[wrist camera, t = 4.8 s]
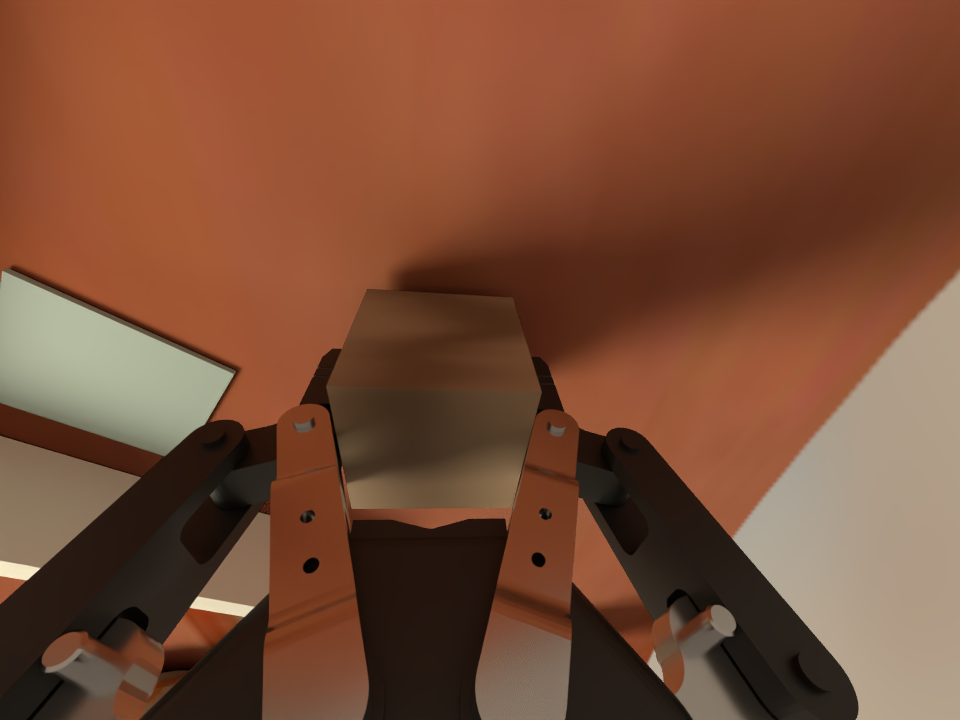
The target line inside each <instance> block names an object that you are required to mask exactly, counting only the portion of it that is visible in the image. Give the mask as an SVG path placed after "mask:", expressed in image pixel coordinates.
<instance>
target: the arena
mask: <svg viewBox="0 0 960 720" xmlns="http://www.w3.org/2000/svg"><path fill="white" fill-rule="evenodd" d="M235 373H236V371H235V370H233V369H231V368H228V367H226V366H224V365H222V364H220V363H217V362H215V361H213V360H211V359H208V358H206V357H204V356H202V355H200V354H197V353H195V352H193V351H191V350H189V349H186V348H184V347H182V346H180V345H177V344H175V343H173V342H171V341H169V340H166V339H164V338H162V337H160V336H157V335H155V334H153V333H151V332H149V331H146V330H144V329H142V328H140V327H137V326H135V325H133V324H131V323H129V322H126V321H124V320H122V319H120V318H118V317H115V316H113V315H111V314H109V313H106V312H104V311H102V310H100V309H98V308H95V307H93V306H91V305H89V304H86V303H84V302H82V301H80V300H78V299H75V298H73V297H71V296H69V295H66V294H64V293H62V292H60V291H58V290H55V289H53V288H51V287H49V286H46V285H44V284H42V283H40V282H38V281H35V280H33V279H31V278H29V277H27V276H24V275H22V274H20V273H18V272H15V271H13V270H11V269H9V268H8V269H5V270H3V271H2V277H1V286H0V403H2V404H5V405H8V406H11V407H14V408H17V409H20V410H23V411H26V412H30V413H33V414H36V415H39V416H42V417H45V418H48V419H51V420H54V421H57V422H60V423H63V424H67V425H70V426H73V427H76V428H79V429H82V430H85V431H88V432H91V433H94V434H97V435H100V436H103V437H107V438H110V439H113V440H116V441H119V442H122V443H125V444H128V445H131V446H134V447H137V448H140V449H143V450H147V451H150V452H153V453H156V454H159V455H162V456H166V455H167V454H168V453H169V452H170V451H171V450H172V449H174V448H175V447H176V446H177V445H178V444H179V443H180V442H181V441H182V440H184V439H185V438H186V437H187V436H188V435H189V434H190V433H192V432H193V431H194V430H196V429H197V428H199V427H201V426H203V425H205V424H206V422H207V420H208V419H209V417H210V415H211V413H212V412H213V410H214V408H215V407H216V405H217V403H218V402H219V400H220V398H221V396H222V395H223V393H224V391H225V390H226V388H227V386H228V385H229V383H230V381H231V379H232V378H233V376H234V374H235ZM140 478H141V477H138V476H135V475H131V474H128V473H125V472H121V471H118V470H114V469H111V468H108V467H104V466H101V465H97V464H94V463H91V462H87V461H84V460H80V459H77V458H74V457H70V456H67V455H64V454H60V453H57V452H53V451H50V450H47V449H43V448H40V447H36V446H33V445H30V444H26V443H23V442H19V441H16V440H13V439H9V438H6V437H2V436H0V576H5V577H11V578H17V579H23V580H28V579H29V578H30V577H31V576H33V575H34V574H35V573H36V572H37V571H38V570H39V569H40V568H41V567H42V566H44V565H45V564H46V563H47V562H48V561H49V560H50V559H51V558H52V557H54V556H55V555H56V554H57V553H58V552H59V551H60V550H61V549H62V548H64V547H65V546H66V545H67V544H68V543H69V542H70V541H71V540H72V539H74V538H75V537H76V536H77V535H78V534H79V533H80V532H81V531H82V530H84V529H85V528H86V527H87V526H88V525H89V524H90V523H91V522H92V521H94V520H95V519H96V518H97V517H98V516H99V515H100V514H101V513H102V512H104V511H105V510H106V509H107V508H108V507H109V506H110V505H111V504H112V503H114V502H115V501H116V500H117V499H118V498H119V497H120V496H121V495H122V494H124V493H125V492H126V491H127V490H128V489H129V488H130V487H131V486H132V485H134V484H135V483H136V482H137V481H138V480H139V479H140ZM269 575H270V515H267V514H264V513H260V512H259V513H258V514H257V515H256V517H255V518H254V520H253V521H252V522H251V524H250V525H249V526H248V528H247V529H246V531H245V532H244V533H243V535H242V536H241V537H240V539H239V540H238V542H237V543H236V544H235V546H234V547H233V548H232V550H231V551H230V553H229V554H228V555H227V557H226V558H225V559H224V561H223V562H222V564H221V565H220V566H219V568H218V569H217V570H216V572H215V573H214V575H213V576H212V577H211V579H210V580H209V581H208V583H207V584H206V586H205V587H204V588H203V590H202V591H201V592H200V594H199V595H198V597H197V598H196V599H195V601H194V602H193V603H192V605H191V606H190V608H196V609H202V610H208V611H213V612H219V613H225V614H231V615H237V616H243V617H245V616H246V615H247V614H248V613H249V612H250V611H251V610H252V609H253V608H254V607H255V606H256V605H257V604H258V603H259V602H260V601H261V600H262V599H263V598H264V597H265V596H266V595H267V594H268V593H269Z"/></svg>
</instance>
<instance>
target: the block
mask: <svg viewBox="0 0 960 720" xmlns="http://www.w3.org/2000/svg"><path fill="white" fill-rule="evenodd" d="M326 387H327V392H328V397H329V402H330V407H331V412H332V416H333V421H334V426H335V431H336V436H337V440H338V445H339V450H340V455H341V460H342V464H343V469H344V474H345V479H346V484H347V488H348V493H349V498H350V503H351V508H352V509H406V508H511V506H512V503H513V499H514V495H515V491H516V488H517V484H518V480H519V476H520V472H521V469H522V465H523V461H524V457H525V454H526V450H527V446H528V442H529V439H530V435H531V431H532V427H533V424H534V420H535V416H536V412H537V409H538V405H539V401H540V397H541V393H542V391H541V388H540V385H539V381H538V378H537V375H536V372H535V368H534V365H533V362H532V359H531V355H530V352H529V349H528V345H527V342H526V339H525V336H524V332H523V329H522V326H521V323H520V319H519V316H518V313H517V310H516V306H515V303H514V300H513V297H496V296H479V295H461V294H444V293H427V292H410V291H393V290H376V289H367V291H366V293H365V296H364V298H363V300H362V303H361V305H360V307H359V310H358V312H357V314H356V317H355V319H354V322H353V324H352V326H351V329H350V331H349V333H348V336H347V338H346V340H345V343H344V345H343V348H342V350H341V352H340V355H339V357H338V359H337V362H336V364H335V366H334V369H333V371H332V374H331V376H330V378H329V381H328V383H327V385H326Z"/></svg>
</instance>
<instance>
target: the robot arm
mask: <svg viewBox="0 0 960 720" xmlns="http://www.w3.org/2000/svg"><path fill="white" fill-rule="evenodd" d="M341 350H342V349H332V350H331V351H329V352H328V353H327V354H326V355H324V356H323V357H322V359H321V361H320V363H319V365H318V369H316V372H315V374H314V377H313V378H312V380H311V382H310V384H309V386H308V388H307V390H306V392H305V394H304V396H303V398H302V401H301V403H300V405H299V406H296V407H294V408H292V409H290V410H288V411H286V412H285V413H284V414H283V415H282V416H281V417H280V418H279V420H278V422H277V424H274V425H271V426H267V427H262V428H257V429H253V430H248V431H245V430H244V428H243V426H242V425H241V424H240V423H238V422H236V421H233V420H218V421H214V422H210V423H207V424H205V425H203V426H201V427H199V428H197V429H196V430H194V431H193V432H192V433H190V434H189V435H188V436H187V437H186V438H185V439H184V440H182V441H181V442H180V443H179V444H178V445H177V446H176V447H175V448H174V449H172V450H171V451H170V452H169V453H168V454H167V455H166V456H165V457H164V458H162V459H161V460H160V461H159V462H158V463H157V464H156V465H155V466H154V467H152V468H151V469H150V470H149V471H148V472H147V473H146V474H145V475H144V476H142V477H141V478H140V479H139V480H138V481H137V482H136V483H135V484H134V485H132V486H131V487H130V488H129V489H128V490H127V491H126V492H125V493H124V494H122V495H121V496H120V497H119V498H118V499H117V500H116V501H115V502H114V503H112V504H111V505H110V506H109V507H108V508H107V509H106V510H105V511H104V512H102V513H101V514H100V515H99V516H98V517H97V518H96V519H95V520H94V521H92V522H91V523H90V524H89V525H88V526H87V527H86V528H85V529H84V530H82V531H81V532H80V533H79V534H78V535H77V536H76V537H75V538H74V539H72V540H71V541H70V542H69V543H68V544H67V545H66V546H65V547H64V548H62V549H61V550H60V551H59V552H58V553H57V554H56V555H55V556H54V557H52V558H51V559H50V560H49V561H48V562H47V563H46V564H45V565H44V566H42V567H41V568H40V569H39V570H38V571H37V572H36V573H35V574H34V575H33V576H31V577H30V578H29V579H28V580H27V581H26V582H25V583H24V584H23V585H21V586H20V587H19V588H18V589H17V590H16V591H15V592H14V593H13V594H11V595H10V596H9V597H8V598H7V599H6V600H5V601H4V602H3V603H1V604H0V720H856V718H857V715H858V700H857V696H856V693H855V691H854V688H853V686H852V684H851V682H850V680H849V678H848V676H847V674H846V673H845V672H844V670H843V669H842V667H841V666H840V665H839V664H838V662H837V661H836V660H835V658H834V657H833V656H832V655H831V654H830V653H829V652H828V650H827V649H826V648H825V647H824V646H823V644H822V643H821V642H820V641H819V640H818V639H817V637H816V636H815V635H814V634H813V633H812V632H811V630H810V629H809V628H808V627H807V626H806V625H805V624H804V622H803V621H802V620H801V619H800V618H799V616H798V615H797V614H796V613H795V612H794V611H793V609H792V608H791V607H790V606H789V605H788V604H787V602H786V601H785V600H784V599H783V598H782V597H781V596H780V595H779V593H778V592H777V591H776V590H775V588H774V587H773V586H772V585H771V584H770V583H769V581H768V580H767V579H766V578H765V577H764V576H763V574H762V573H761V572H760V571H759V570H758V569H757V568H756V566H755V565H754V564H753V563H752V562H751V560H750V559H749V558H748V557H747V556H746V555H745V554H744V552H743V551H742V550H741V549H740V548H739V546H738V545H737V544H736V543H735V542H734V541H733V539H732V538H731V537H730V536H729V535H728V534H727V532H726V531H725V530H724V529H723V528H722V527H721V525H720V524H719V523H718V522H717V521H716V520H715V518H714V517H713V516H712V515H711V514H710V513H709V511H708V510H707V509H706V508H705V507H704V506H703V504H702V503H701V502H700V501H699V500H698V498H697V497H696V496H695V495H694V494H693V493H692V491H691V490H690V489H689V488H688V487H687V486H686V484H685V483H684V482H683V481H682V480H681V479H680V477H679V476H678V475H677V474H676V473H675V472H674V470H673V469H672V468H671V467H670V466H669V465H668V463H667V462H666V461H665V460H664V459H663V458H662V456H661V455H660V454H659V453H658V452H657V451H656V449H655V448H654V447H653V446H652V445H651V444H650V442H649V441H648V440H647V439H646V438H645V437H643V436H642V435H641V434H639V433H637V432H636V431H633V430H631V429H627V428H614V429H612V430H610V431H609V432H608V433H607V435H606V436H602V435H598V434H595V433H591V432H588V431H585V430H582V429H580V428H579V426H578V424H577V422H576V421H575V419H574V418H573V417H571V416H570V415H568V414H567V413H565V412H564V409H563V407H562V404H561V401H560V398H559V395H558V393H557V390H556V387H555V385H554V381H553V379H552V377H551V373H550V370H549V367H548V365H547V364H546V363H545V362H544V361H543V360H542V359H541V358H540V357H531V359H532V362H533V365H534V368H535V372H536V375H537V378H538V381H539V385H540V388H541V391H542V393H541V397H540V401H539V405H538V409H537V412H536V416H535V420H534V424H533V427H532V431H531V435H530V439H529V442H528V446H527V450H526V454H525V457H524V461H523V466H522V470H521V474H520V478H519V482H518V486H517V490H516V494H515V499H514V503H513V507H512V511H511V515H510V519H509V523H508V527H507V529H506V521H505V519H467V520H464V521H460V522H456V523H452V524H449V525H445V526H441V527H438V528H434V529H427V528H423V527H419V526H415V525H411V524H407V523H403V522H399V521H395V520H353V525H352V529H351V524H350V518H349V512H348V506H347V500H346V494H345V488H344V482H343V476H342V470H341V468H342V460H341V455H340V450H339V445H338V440H337V436H336V431H335V426H334V421H333V416H332V412H331V407H330V402H329V397H328V392H327V387H326V385H327V383H328V381H329V378H330V376H331V374H332V371H333V369H334V366H335V364H336V362H337V359H338V357H339V355H340V352H341ZM578 497H579V498H583V500H584V502H585V504H586V505H587V507H588V509H589V510H590V512H591V514H592V516H593V517H594V519H595V521H596V523H597V524H598V526H599V528H600V529H601V531H602V533H603V535H604V536H605V538H606V540H607V541H608V543H609V545H610V547H611V548H612V550H613V552H614V553H615V555H616V557H617V559H618V560H619V562H620V564H621V565H622V567H623V569H624V571H625V572H626V574H627V576H628V577H629V579H630V581H631V583H632V584H633V586H634V588H635V589H636V591H637V593H638V595H639V596H640V598H641V600H642V601H643V603H644V605H645V607H646V608H647V610H648V612H649V614H650V615H651V617H652V619H653V620H654V624H653V627H652V632H651V634H652V643H653V647H654V650H655V653H656V657H657V661H658V663H659V664H660V666H661V668H662V672H663V677H664V682H662V680H661V679H660V678H659V677H658V676H657V675H656V674H655V673H654V671H653V670H652V669H651V668H650V667H649V666H648V665H647V664H646V663H645V662H644V660H643V659H642V658H641V657H640V656H639V655H638V654H637V653H636V652H635V651H634V649H633V648H632V647H631V646H630V645H629V644H628V643H627V642H626V641H625V639H624V638H623V637H622V636H621V635H620V634H619V633H618V632H617V631H616V630H615V628H614V627H613V626H612V625H611V624H610V623H609V622H608V621H607V620H606V619H605V617H604V616H603V615H602V614H601V613H600V612H599V611H598V610H597V609H596V608H595V606H594V605H593V604H592V603H591V602H590V601H589V600H588V599H587V598H586V596H585V595H584V594H583V593H582V592H581V591H580V590H579V589H578V588H577V587H576V585H575V584H574V583H573V582H572V576H573V562H574V549H575V536H576V522H577V509H578ZM267 500H270V575H269V593H268V594H267V595H266V596H265V597H264V598H263V599H262V600H261V601H260V602H259V603H258V604H257V605H256V606H255V607H254V608H253V609H252V610H251V611H250V612H249V613H248V614H247V615H246V616H245V617H244V618H243V619H242V620H241V621H240V622H239V623H238V624H237V625H236V626H235V627H234V628H233V629H231V630H230V631H229V632H228V633H227V634H226V635H225V636H224V637H223V638H222V639H221V640H220V641H219V642H218V643H217V644H216V645H215V646H214V647H213V648H212V649H211V650H210V651H209V652H208V653H207V654H206V655H205V656H204V657H203V658H202V659H201V660H200V661H199V662H198V663H197V664H196V665H195V666H194V667H193V668H191V669H190V670H189V671H188V672H187V673H186V674H185V675H184V676H183V677H182V678H181V679H180V680H179V681H178V682H177V683H176V684H175V685H174V686H173V687H172V688H171V689H170V690H169V691H168V692H167V693H166V694H165V695H164V696H163V697H162V698H161V699H160V700H159V701H158V702H157V703H156V704H155V705H154V706H152V707H151V708H150V709H149V710H148V711H147V712H146V713H145V714H144V715H143V710H144V707H145V703H146V701H147V699H148V698H149V697H150V696H151V694H152V693H153V691H154V689H155V687H156V683H157V680H158V678H159V676H160V673H161V671H162V668H163V664H164V649H163V646H162V645H163V643H164V642H165V641H166V639H167V638H168V636H169V635H170V634H171V632H172V631H173V630H174V628H175V627H176V625H177V624H178V623H179V621H180V620H181V619H182V617H183V616H184V614H185V613H186V612H187V610H188V609H189V608H190V606H191V605H192V603H193V602H194V601H195V599H196V598H197V597H198V595H199V594H200V592H201V591H202V590H203V588H204V587H205V586H206V584H207V583H208V581H209V580H210V579H211V577H212V576H213V575H214V573H215V572H216V570H217V569H218V568H219V566H220V565H221V564H222V562H223V561H224V559H225V558H226V557H227V555H228V554H229V553H230V551H231V550H232V548H233V547H234V546H235V544H236V543H237V542H238V540H239V539H240V537H241V536H242V535H243V533H244V532H245V531H246V529H247V528H248V526H249V525H250V524H251V522H252V521H253V520H254V518H255V517H256V515H257V514H258V513H259V511H260V510H261V509H262V507H263V506H264V504H265V503H266V501H267ZM142 715H143V716H142Z"/></svg>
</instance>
